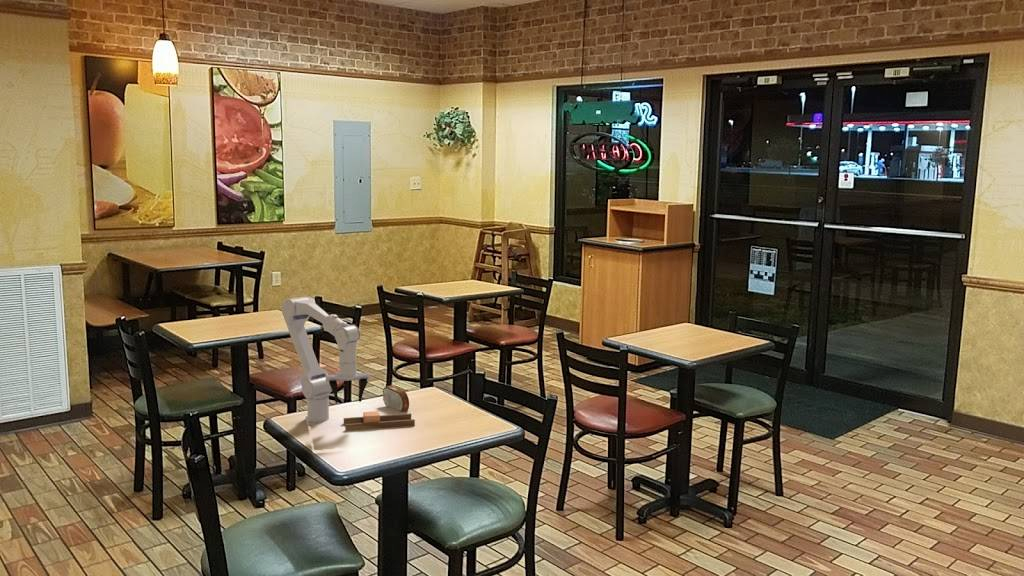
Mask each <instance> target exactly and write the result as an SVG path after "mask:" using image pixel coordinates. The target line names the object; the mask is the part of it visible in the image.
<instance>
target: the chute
mask: <svg viewBox="0 0 1024 576" xmlns="http://www.w3.org/2000/svg"><path fill="white" fill-rule="evenodd" d="M415 424H416V420H415V419H412V413H411V412H410V413H399V414H383V415H382V414H380V422H369V423H363V416H356V417H355V416H353V417H352V416H351V417H343V426H344V429H345V432H348V431H362V430H363V431H364V430H377V429H378V430H379V429H387V428H388V429H389V428H390V429H391V428H402V427H405V428H406V427H415V426H416V425H415Z"/></svg>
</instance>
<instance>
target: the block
mask: <svg viewBox="0 0 1024 576" xmlns="http://www.w3.org/2000/svg"><path fill="white" fill-rule="evenodd" d="M362 415H363V416H362V417H363V423H369V422H380V415H381V414H380V412H379V411H377V410H375V411H374V410H373V411H363V413H362Z"/></svg>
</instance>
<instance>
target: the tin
mask: <svg viewBox="0 0 1024 576" xmlns="http://www.w3.org/2000/svg"><path fill="white" fill-rule="evenodd" d="M382 399H383V400H382V401H383V402H384V405H385V406H386V408H393V409H396V410H398V411H400V412H405V411H406V412H407V411H409V409H410V399H409V396H408V394H407V392H406V391H405V390H404V389H403V388H399V387H397V386H395V385H393V384H390V385H387V386H385V387H383V390H382Z"/></svg>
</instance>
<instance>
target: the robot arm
mask: <svg viewBox="0 0 1024 576" xmlns="http://www.w3.org/2000/svg"><path fill="white" fill-rule="evenodd" d="M280 311H281V313H282V317H283V320H284V322H285V324H286V327H287V329H288V332H289V335H290V338H291V341H292V343H293V346H294V348H295V351H296V354H297V357H298V359H299V361H300V364H301V367H302V370H303V374H302V376H301V377H300V380H299V381H300V384H301V385H300V386H301V392H302V394H303V396H304V398H306V406H307V407H306V409H307V413H306V416H305V421H306V425H307V426H311V422H312V423H322V422H325V421H328V420H329V419H330V417H329V416H330V410H329V407H330V405H329V400H330V399H329V398H330V397H329V396H331V393H332V392H333V396H334V399H335V401H334V402H335V404H338V403H339V398H338V397H339V396H338V382H344V381H345V382H346V381H347V382H349V381H358V402H359V403H360V402H362V398H363V394H364V392H365V389H366V387H367V385H368V381H371V373H370V372H358V370H357V369H358V368H357V367H358V364H357V363H358V360H357V359H358V353H357V351H358V350H357V347H358V346H357V343H358V342H359V340H360V338H361V331H360V328H359V327H358V326H357V325H356V324H348V322H346V321H344V320H342V319H341V318H340V317H338V316H339V315H337V314H328V313H327V312H326V311H325V310H324V309H323V308H321V307H320V306H319V305H318V304H317V303H316V300H315V299H313V298H312V297H311V296H309V295H305V296H301V297H294V298H285V299H284V300H283V301H282V305H281V309H280ZM310 317H311V318H313V319H315V320H316V321H318V322H320V323H321V324H322V327H323V329H324V330H326V332H328V333H329V334H330V335H332V336H333V337H334V339H335V341H336V344H337V348H338V361H339V362H338V364H339V365H338V367H339V369H338V371H339V372H338V373H335V374H329V373H328V371H327V370H325V369H324V368H322V367H320V365H319V362H318V359H317V357H316V354H315V352H314V349H313V345H312V344H311V341H310V338H309V336H308V333H307V330H306V327H305V324H306V322H308V320H309V318H310Z"/></svg>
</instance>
